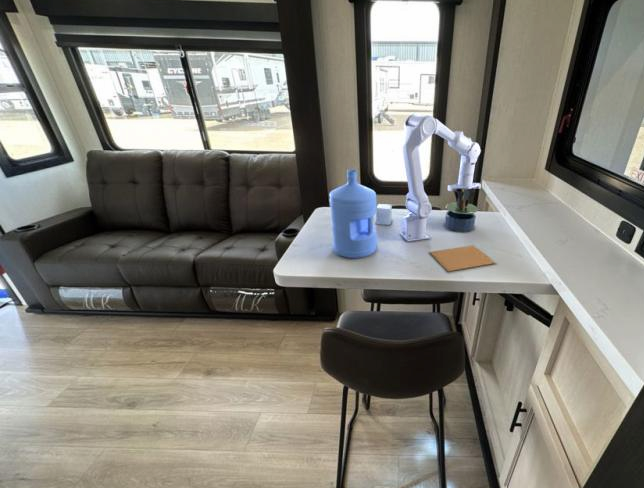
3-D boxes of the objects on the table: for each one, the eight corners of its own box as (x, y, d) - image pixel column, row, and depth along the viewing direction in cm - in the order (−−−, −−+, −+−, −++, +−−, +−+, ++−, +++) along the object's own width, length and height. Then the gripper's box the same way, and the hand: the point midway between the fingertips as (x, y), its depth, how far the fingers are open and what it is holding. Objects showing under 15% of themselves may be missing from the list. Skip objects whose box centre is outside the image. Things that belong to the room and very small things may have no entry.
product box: (378, 219, 138) (378, 203, 134) (391, 220, 137) (392, 204, 134) (376, 224, 133) (375, 208, 129) (389, 225, 132) (390, 209, 128)
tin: (453, 233, 126) (455, 221, 124) (440, 222, 136) (441, 211, 133) (479, 230, 130) (481, 218, 127) (464, 220, 140) (465, 208, 137)
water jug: (325, 253, 108) (316, 173, 94) (347, 237, 120) (343, 163, 106) (364, 262, 103) (362, 179, 89) (383, 244, 116) (384, 168, 102)
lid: (455, 216, 122) (456, 205, 119) (440, 206, 133) (441, 195, 130) (483, 213, 126) (485, 202, 124) (466, 203, 137) (468, 193, 134)
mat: (448, 271, 99) (448, 270, 99) (430, 253, 111) (430, 252, 111) (494, 263, 105) (494, 262, 105) (472, 246, 116) (472, 245, 116)
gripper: (455, 177, 116) (451, 211, 123) (487, 174, 121) (481, 207, 128) (446, 172, 122) (443, 205, 129) (477, 170, 126) (472, 202, 133)
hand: (461, 206), depth 128 cm, fingers closed on lid, 2 cm apart
